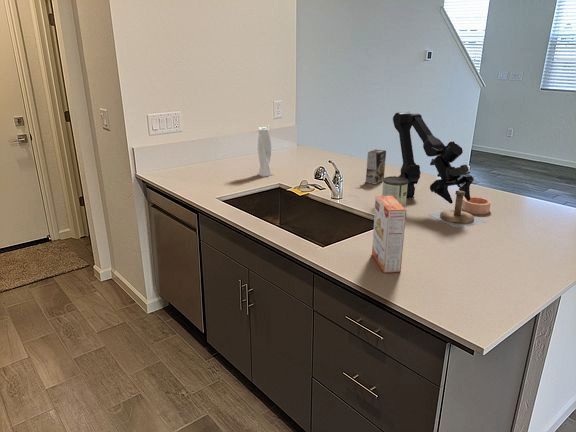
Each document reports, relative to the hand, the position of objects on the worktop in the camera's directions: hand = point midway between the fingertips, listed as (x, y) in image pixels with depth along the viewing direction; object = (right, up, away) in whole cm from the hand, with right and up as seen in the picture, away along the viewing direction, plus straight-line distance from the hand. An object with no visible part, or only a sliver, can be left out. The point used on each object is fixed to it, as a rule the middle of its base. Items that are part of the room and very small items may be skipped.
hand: (460, 201), depth 180 cm
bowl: (+11, -3, +13) cm, 18 cm away
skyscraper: (-82, +16, +67) cm, 107 cm away
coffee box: (-24, +12, +55) cm, 62 cm away
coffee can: (-24, -4, +12) cm, 28 cm away
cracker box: (-38, -21, -35) cm, 56 cm away
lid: (0, -7, +3) cm, 7 cm away
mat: (0, -7, +3) cm, 8 cm away
